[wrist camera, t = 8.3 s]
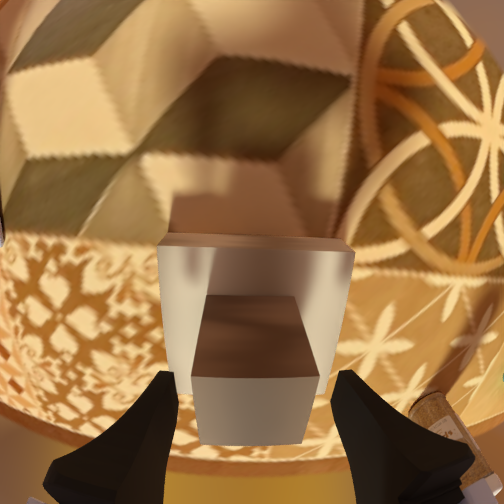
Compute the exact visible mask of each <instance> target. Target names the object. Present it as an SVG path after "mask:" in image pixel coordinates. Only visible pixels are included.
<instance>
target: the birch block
mask: <svg viewBox="0 0 504 504" xmlns="http://www.w3.org/2000/svg"><path fill="white" fill-rule="evenodd" d="M157 258H158V273H159V287H160V298H161V309H162V319H163V328H164V337H165V345H166V352H167V360H168V367H169V371H171V372H174V377H175V383H176V389H177V393H179V394H191V395H193V392H192V384H191V371H192V366H193V360H194V355H195V350H196V344H197V339H198V334H199V329H200V324H201V319H202V314H203V309H204V304H205V299H206V295H231V296H294V297H295V300H296V303H297V306H298V309H299V312H300V315H301V318H302V321H303V324H304V327H305V330H306V333H307V337H308V340H309V343H310V346H311V349H312V352H313V355H314V358H315V362H316V365H317V368H318V371H319V374H320V379H319V383H318V387H317V391H316V394H315V395H318V394H324V393H325V390H326V386H327V383H328V379H329V375H330V371H331V368H332V364H333V360H334V356H335V352H336V348H337V343H338V339H339V335H340V330H341V326H342V321H343V317H344V312H345V307H346V302H347V297H348V292H349V287H350V281H351V276H352V270H353V264H354V258H355V251H353V250H352V249H351V248H350V247H349V246H348V245H347V244H346V243H345V242H344V241H343V240H342V239H338V238H316V237H293V236H267V235H239V234H206V233H167V234H166V235H165V236H164V238H163V239H162V240H161V241H160V242H159V244H158V245H157Z"/></svg>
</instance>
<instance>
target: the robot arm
mask: <svg viewBox="0 0 504 504" xmlns="http://www.w3.org/2000/svg"><path fill="white" fill-rule="evenodd" d="M3 244H4V240H3V233H2V227H1V219H0V247H2V246H3ZM330 402H331V407H332V413H333V417H334V421H335V424H336V427H337V430H338V432H339V435H340V438H341V441H342V444H343V446H344V449H345V452H346V455H347V458H348V461H349V464H350V469H351V474H352V479H353V484H354V490H355V496H356V503H357V504H498V502H497V500H496V498H495V496H494V494H493V493H492V491H491V489H490V487H489V485H488V484H487V482H486V480H485V478H482V479H480V480H478V481H477V482H475V483H473V484H471V485H469V486H468V487H466V488H464V489H463V490H462V491H461V489H460V487H459V486H461V485H462V482H461V480H460V477H461V476H462V475H463V474H464V473H465V472H466V471H467V470H468V469H469V468H470V467H471V466H472V464H473V463H474V461H475V455H474V454H473V452H472V450H471V449H470V447H469V445H468V444H467V443H463V442H460V441H456V440H453V439H449V438H447V437H444V436H442V435H439V434H437V433H434V432H432V431H430V430H428V429H426V428H424V427H422V426H420V425H418V424H417V423H415V422H413V421H412V420H410V419H409V418H407V417H405V416H404V415H402V414H401V413H400V412H398V411H397V410H396V409H394V408H393V407H392V406H391V405H389V404H388V403H387V402H386V401H385V400H383V399H382V398H381V397H380V396H379V395H378V394H377V393H376V392H374V391H373V390H372V389H371V388H370V387H369V386H368V385H367V384H366V383H365V382H364V381H363V380H362V379H361V378H360V377H359V376H358V375H357V374H356V373H355V372H354V371H353V370H341V371H339V373H338V377H337V380H336V384H335V387H334V391H333V394H332V397H331V401H330ZM178 406H179V401H178V395H177V389H176V383H175V377H174V372H171V371H159V372H158V373H157V374H156V376H155V377H154V379H153V380H152V381H151V383H150V384H149V386H148V387H147V388H146V389H145V391H144V392H143V393H142V394H141V396H140V397H139V398H138V399H137V400H136V402H135V403H134V404H133V405H132V406H131V407H130V408H129V409H128V410H127V411H126V412H125V414H124V415H123V416H122V417H121V418H119V419H118V420H117V421H116V422H115V423H114V424H113V425H112V426H111V427H109V428H108V429H107V430H106V431H104V432H103V433H102V434H100V435H99V436H98V437H96V438H95V439H93V440H92V441H90V442H89V443H87V444H85V445H84V446H82V447H80V448H79V449H77V450H75V451H73V452H71V453H69V454H67V455H64V456H62V457H60V458H58V459H55V460H53V462H52V464H51V465H50V467H49V469H48V472H47V474H46V477H45V479H44V482H43V487H44V489H45V490H46V491H47V492H48V493H49V494H50V495H51V496H52V497H53V498H54V499H55V500H56V501H57V502H58V503H59V504H163V497H164V484H165V474H166V467H167V461H168V457H169V453H170V448H171V444H172V440H173V436H174V432H175V427H176V423H177V415H178ZM27 504H46V503H44V502H42V501H39V500H37V499H35V498H33V497H29V499H28V502H27Z"/></svg>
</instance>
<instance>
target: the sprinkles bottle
mask: <svg viewBox="0 0 504 504" xmlns="http://www.w3.org/2000/svg"><path fill="white" fill-rule="evenodd" d="M408 418H409V419H410V420H412V421H413V422H415V423H417V424H418V425H420V426H422V427H424V428H426V429H428V430H430V431H432V432H434V433H437V434H439V435H442V436H444V437H447V438H449V439H453V440H456V441H460V442H463V443H467V444H468V445H469V447H470V449H471V450H472V452H473V454H474V455H475V461H474V463H473V464H472V466H471V467H470V468H469V469H468V470H467V471H466V472H465V473H464V474H463V475H462V476H461V477H460V480H461V482H462V485H461V486H459V487H460V489H461V491H462V490H463V489H464V488H466V487H468V486H469V485H471V484H473V483H475V482H477V481H478V480H480V479H482V478H485V480H486V482H487V484H488V485H489V487H490V489H491V491H492V493H493V494H494V496H495V495H496V494H497V493H498V492H500V490H501V489H502V487H503V485H502V483H501V481H500V479H499V477H498V476H497V474H494V471H492V470H491V468H490V467H489V465H488V463H487V461H486V460H485V458H484V456H483V455H482V453H481V451H480V448H479V447H478V445H477V443H476V442H475V440H474V439H473V437H472V435H471V434H470V432H469V431H468V429H467V428H466V426H465V425H464V423H463V422H462V420H461V419H460V417H459V416H458V415H457V414H456V413H455V412H454V410H453V409H452V407H451V406H450V404H449V403H448V401H447V400H446V397H445V395H444V394H443V393H440V392H436V393H432V394H430V395H428V396H426V397H425V398H423V399H421V400H420V401H419V402H418V403H417V404H416V405H415V406H414V407H413V408H412V409H411V411H410V412H409V415H408Z"/></svg>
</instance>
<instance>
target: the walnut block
mask: <svg viewBox="0 0 504 504" xmlns="http://www.w3.org/2000/svg"><path fill="white" fill-rule="evenodd" d="M319 379H320V374H319V371H318V368H317V365H316V362H315V358H314V355H313V352H312V349H311V346H310V343H309V340H308V337H307V333H306V330H305V327H304V324H303V321H302V318H301V315H300V312H299V309H298V306H297V303H296V300H295V297H294V296H231V295H206V299H205V304H204V309H203V314H202V319H201V324H200V329H199V334H198V339H197V344H196V350H195V355H194V360H193V366H192V371H191V384H192V392H193V399H194V407H195V414H196V421H197V427H198V434H199V440H200V444H202V445H222V446H271V445H291V444H302V440H303V437H304V434H305V430H306V427H307V424H308V420H309V417H310V413H311V409H312V406H313V402H314V398H315V394H316V391H317V387H318V383H319Z"/></svg>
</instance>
